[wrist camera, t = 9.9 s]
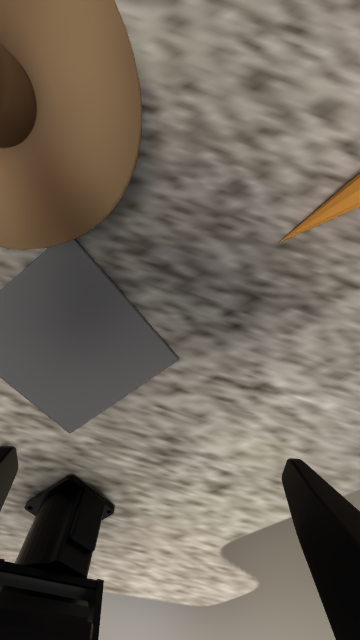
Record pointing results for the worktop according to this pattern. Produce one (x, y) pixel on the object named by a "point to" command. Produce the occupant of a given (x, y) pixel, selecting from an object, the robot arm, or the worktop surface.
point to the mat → (74, 338)
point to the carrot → (332, 207)
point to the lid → (64, 118)
